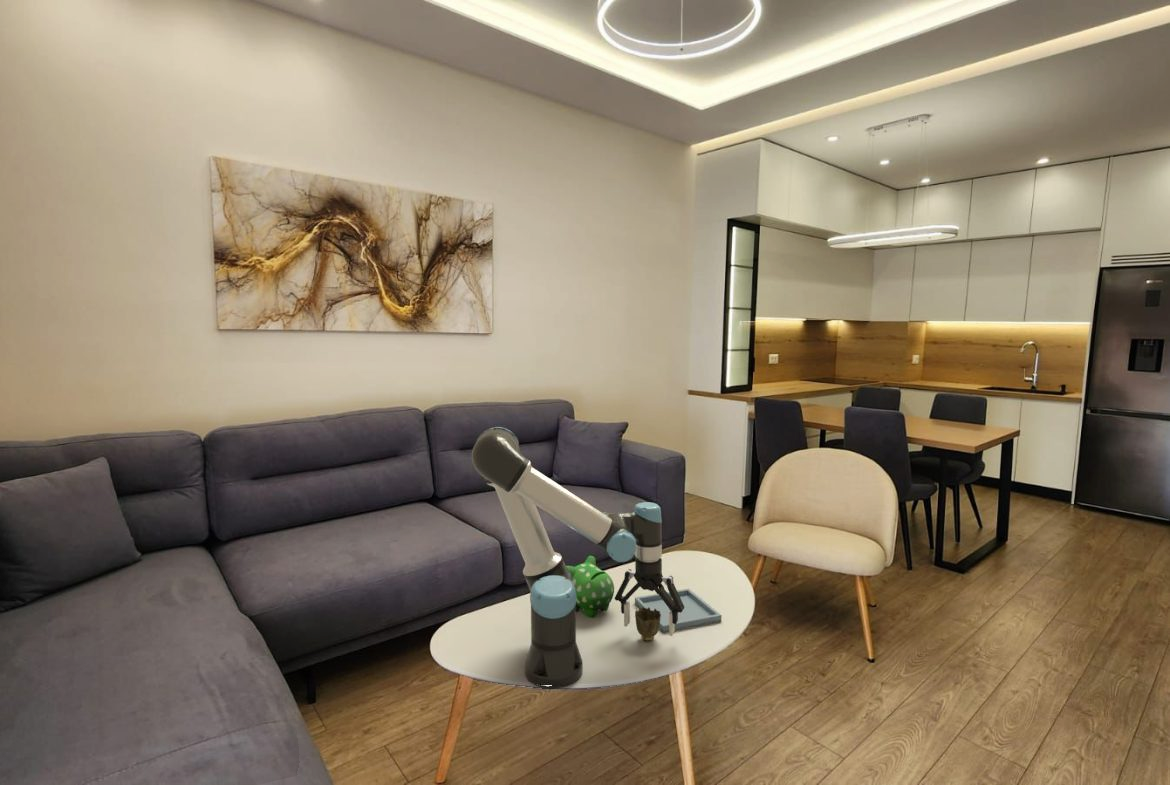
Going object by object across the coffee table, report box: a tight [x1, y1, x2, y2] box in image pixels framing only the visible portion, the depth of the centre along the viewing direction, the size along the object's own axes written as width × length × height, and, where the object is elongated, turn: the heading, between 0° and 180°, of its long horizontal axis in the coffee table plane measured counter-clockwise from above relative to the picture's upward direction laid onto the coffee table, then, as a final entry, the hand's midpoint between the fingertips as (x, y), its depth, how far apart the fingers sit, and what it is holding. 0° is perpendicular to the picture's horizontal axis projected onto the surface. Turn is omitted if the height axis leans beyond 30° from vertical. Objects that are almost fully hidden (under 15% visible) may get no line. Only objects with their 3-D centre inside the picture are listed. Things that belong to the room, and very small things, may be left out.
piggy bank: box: [565, 555, 615, 618], centre depth 185 cm, size 14×18×15 cm
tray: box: [634, 588, 722, 633], centre depth 183 cm, size 20×20×2 cm
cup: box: [634, 607, 661, 643], centre depth 166 cm, size 8×7×8 cm
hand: (649, 628), depth 166 cm, fingers open, 13 cm apart
